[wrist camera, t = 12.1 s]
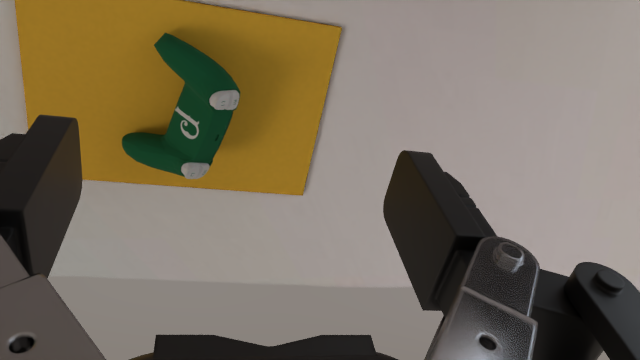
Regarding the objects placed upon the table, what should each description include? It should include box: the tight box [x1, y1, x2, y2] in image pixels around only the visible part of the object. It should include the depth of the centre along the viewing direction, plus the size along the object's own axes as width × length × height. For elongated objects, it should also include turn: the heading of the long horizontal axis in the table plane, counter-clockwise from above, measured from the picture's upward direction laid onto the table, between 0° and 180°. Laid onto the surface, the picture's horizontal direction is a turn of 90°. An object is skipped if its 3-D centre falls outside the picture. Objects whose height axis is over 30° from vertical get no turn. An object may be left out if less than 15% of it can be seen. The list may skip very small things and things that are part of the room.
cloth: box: [15, 0, 342, 195], centre depth 35 cm, size 20×14×1 cm
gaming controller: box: [122, 33, 241, 179], centre depth 33 cm, size 9×4×6 cm
